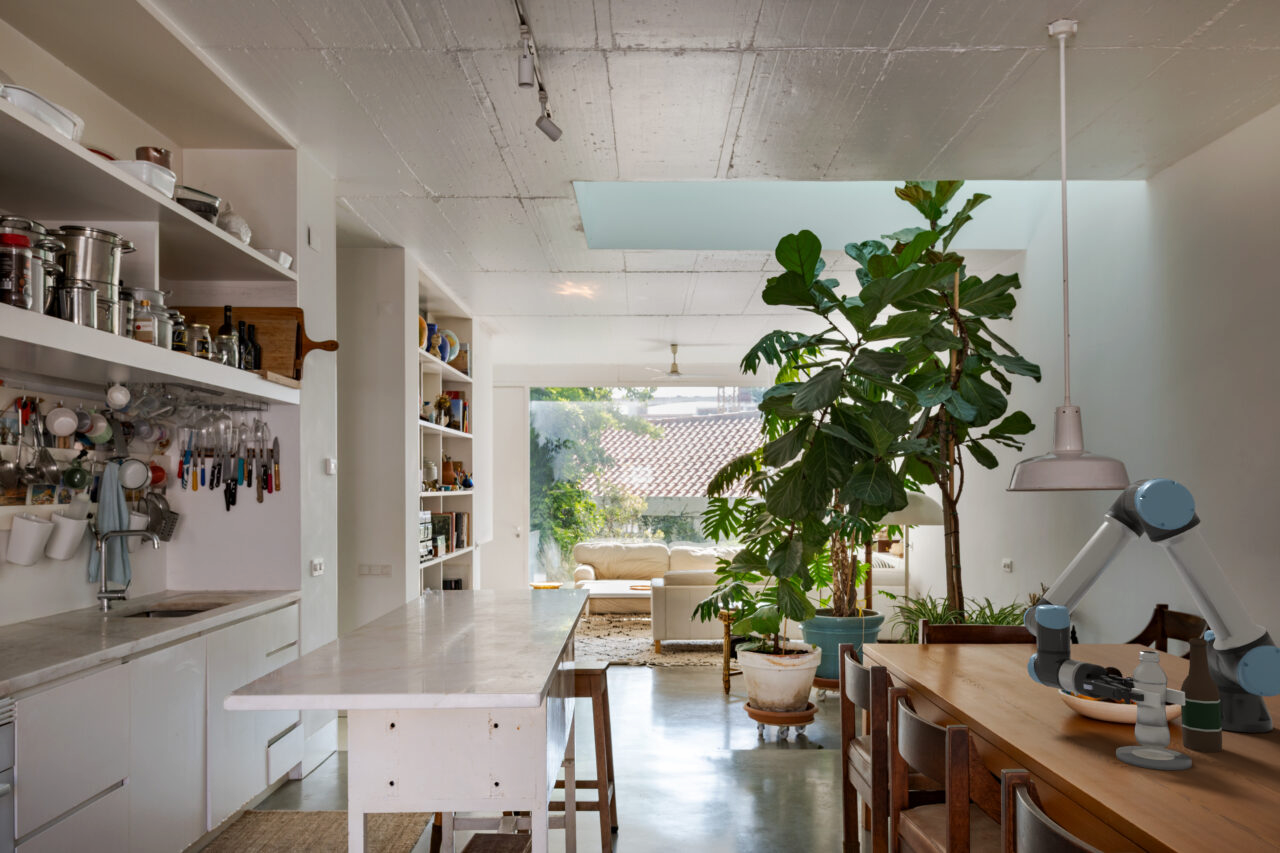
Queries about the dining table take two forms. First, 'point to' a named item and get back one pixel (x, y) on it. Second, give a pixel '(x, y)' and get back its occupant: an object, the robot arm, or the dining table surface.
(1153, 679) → the plastic bottle
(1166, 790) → the dining table surface
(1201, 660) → the beer bottle
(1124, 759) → the coaster
